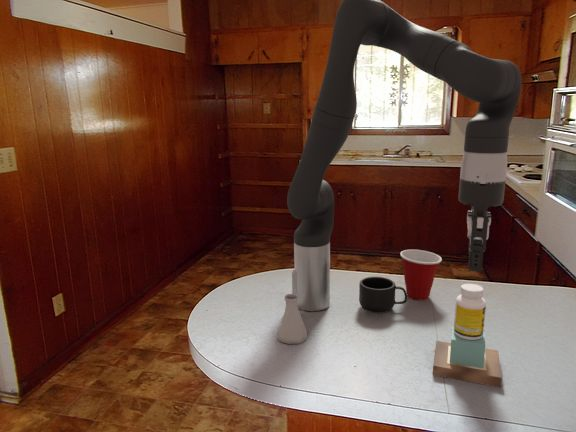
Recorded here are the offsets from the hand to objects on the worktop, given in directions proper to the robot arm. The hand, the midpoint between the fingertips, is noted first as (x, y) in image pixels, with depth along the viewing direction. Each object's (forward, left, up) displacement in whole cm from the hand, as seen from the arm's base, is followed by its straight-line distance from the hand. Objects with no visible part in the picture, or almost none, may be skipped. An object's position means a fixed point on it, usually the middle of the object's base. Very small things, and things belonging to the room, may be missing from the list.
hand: (474, 262), depth 84 cm
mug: (-20, +21, -22) cm, 37 cm away
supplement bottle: (0, 0, -15) cm, 15 cm away
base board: (0, 0, -22) cm, 22 cm away
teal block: (0, 0, -20) cm, 20 cm away
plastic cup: (-12, +32, -22) cm, 41 cm away
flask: (-37, 0, -22) cm, 43 cm away
